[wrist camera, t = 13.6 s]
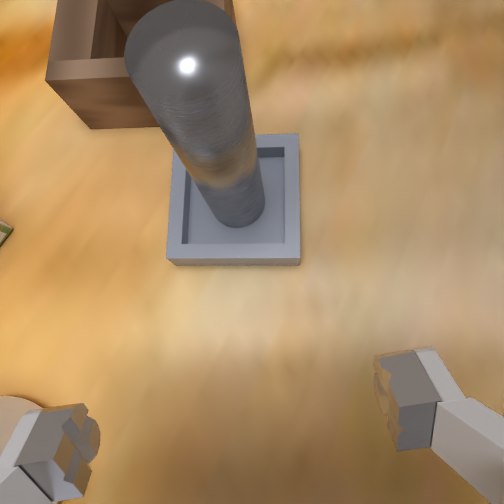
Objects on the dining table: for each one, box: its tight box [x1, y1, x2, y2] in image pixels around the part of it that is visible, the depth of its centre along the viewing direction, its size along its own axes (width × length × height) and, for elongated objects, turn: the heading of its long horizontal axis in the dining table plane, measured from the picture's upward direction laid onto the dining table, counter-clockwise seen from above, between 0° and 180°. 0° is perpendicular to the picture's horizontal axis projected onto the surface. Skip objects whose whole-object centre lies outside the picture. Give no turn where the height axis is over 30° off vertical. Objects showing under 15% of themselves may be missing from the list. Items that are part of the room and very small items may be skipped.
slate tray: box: [166, 133, 300, 265], centre depth 27 cm, size 9×9×2 cm
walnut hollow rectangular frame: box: [45, 0, 237, 129], centre depth 28 cm, size 12×9×6 cm
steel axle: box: [124, 0, 265, 228], centre depth 20 cm, size 4×4×15 cm
